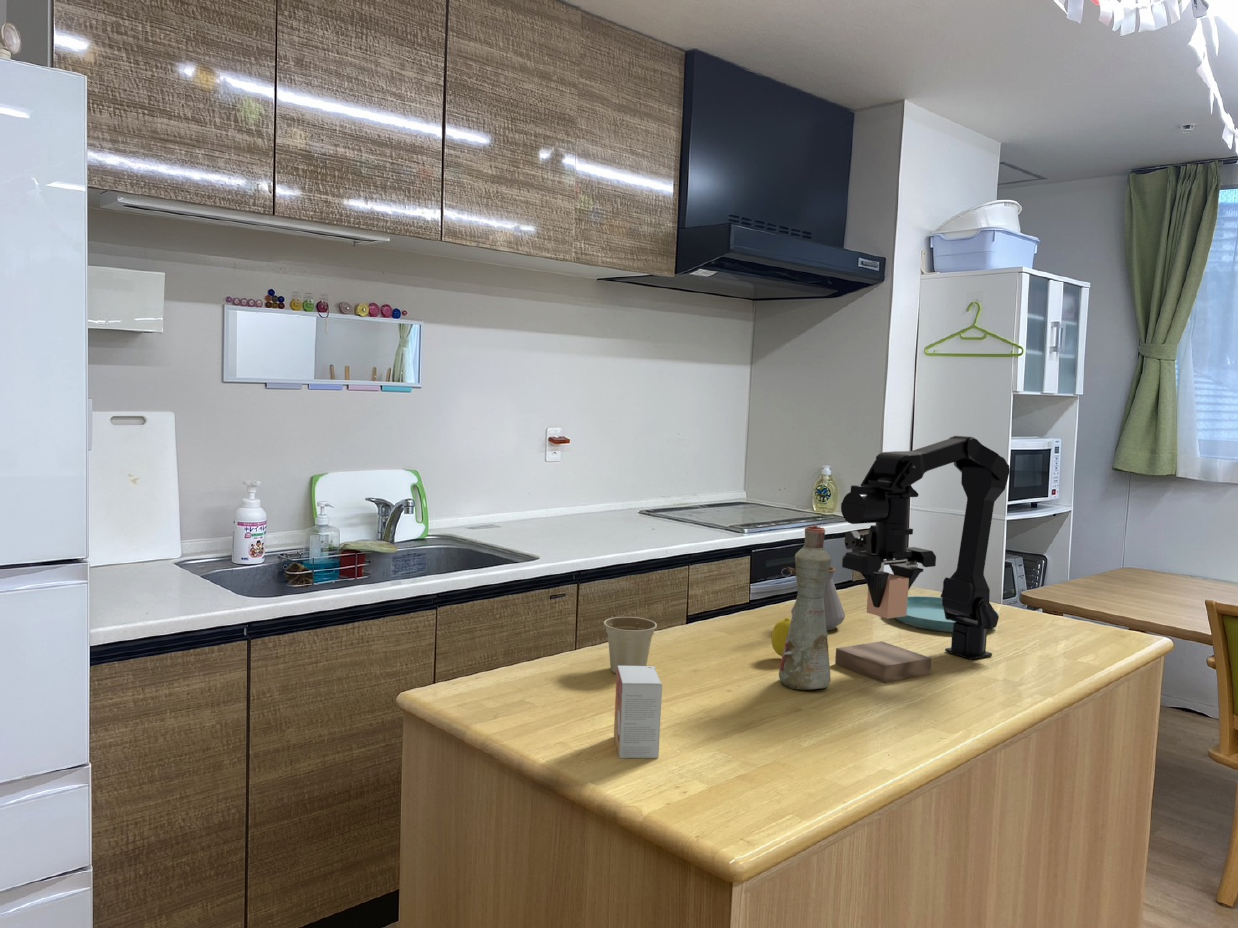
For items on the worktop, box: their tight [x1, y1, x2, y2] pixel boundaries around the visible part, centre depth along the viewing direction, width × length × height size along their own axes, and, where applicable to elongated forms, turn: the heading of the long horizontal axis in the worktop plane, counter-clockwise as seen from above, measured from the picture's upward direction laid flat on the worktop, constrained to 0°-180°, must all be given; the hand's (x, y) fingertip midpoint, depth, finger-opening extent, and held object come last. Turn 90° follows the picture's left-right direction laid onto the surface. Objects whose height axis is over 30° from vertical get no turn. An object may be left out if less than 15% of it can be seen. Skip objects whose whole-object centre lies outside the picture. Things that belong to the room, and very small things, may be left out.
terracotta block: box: [866, 572, 909, 620], centre depth 166 cm, size 5×5×7 cm
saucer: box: [895, 595, 1000, 633], centre depth 206 cm, size 24×24×3 cm
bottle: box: [778, 524, 832, 691], centre depth 155 cm, size 9×9×28 cm
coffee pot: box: [781, 566, 846, 631], centre depth 193 cm, size 21×12×15 cm, turn 141°
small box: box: [613, 665, 663, 759], centre depth 126 cm, size 8×6×10 cm
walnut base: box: [834, 640, 933, 683], centre depth 167 cm, size 12×12×3 cm
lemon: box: [771, 617, 791, 658], centre depth 171 cm, size 6×6×8 cm
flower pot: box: [603, 616, 658, 675], centre depth 160 cm, size 9×9×9 cm
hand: (886, 605), depth 166 cm, fingers closed on terracotta block, 5 cm apart
